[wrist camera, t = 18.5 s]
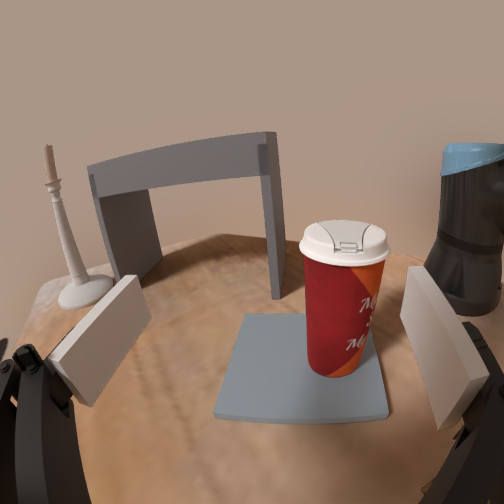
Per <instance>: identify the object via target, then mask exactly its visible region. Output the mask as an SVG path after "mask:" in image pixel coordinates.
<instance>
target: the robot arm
mask: <svg viewBox="0 0 504 504" xmlns="http://www.w3.org/2000/svg"><path fill="white" fill-rule="evenodd" d="M440 175H441V176H442V177H441V199H440V213H439V223H438V232H437V238H436V241H435V243H434V245H433V247H432V249H431V251H430V253H429V255H428V257H427V259H426V261H425V263H424V265H423V266H411V267H408V274H407V280H406V286H405V292H404V298H403V303H402V308H401V313H400V318H401V320H402V323H403V325H404V328H405V330H406V333H407V335H408V338H409V341H410V343H411V346H412V349H413V351H414V354H415V357H416V360H417V363H418V366H419V368H420V371H421V374H422V377H423V381H424V384H425V387H426V390H427V393H428V397H429V400H430V404H431V407H432V411H433V414H434V418H435V422H436V426H437V430H440V429H444V428H448V427H451V426H454V425H456V424H457V422H458V421H459V420H460V419H461V417H462V416H463V419H464V423H465V424H464V425H463V427H462V428H461V429H460V430H459V431H458V433H457V434H456V435H455V436H454V438H453V439H454V440H455V439H456V438H457V439H456V441H455V443H454V445H453V447H452V449H451V451H450V453H449V455H448V457H447V459H446V461H445V462H444V464H443V466H442V468H441V469H440V471H439V473H438V475H437V476H436V478H435V480H434V481H433V483H432V484H431V486H430V488H429V489H428V491H427V492H426V494H425V495H424V497H423V498H422V500H421V501H420V502H419V504H487V503H488V501H489V499H490V497H491V499H490V502H489V504H504V374H503V372H502V370H501V368H500V366H499V364H498V363H497V361H496V359H495V357H494V355H493V353H492V352H491V350H490V348H488V345H487V343H486V341H485V340H483V336H482V335H481V333H480V331H479V330H478V329H477V328H476V327H475V326H474V325H473V324H471V323H470V322H469V321H468V322H462V323H461V321H460V320H459V318H458V316H457V315H456V314H459V315H465V316H480V315H484V314H487V313H489V312H491V311H492V310H493V309H494V308H495V307H496V306H497V303H498V300H499V297H500V294H501V289H502V284H501V275H502V260H501V254H502V249H503V244H504V144H495V143H450V144H448V145H447V146H446V147H445V148H444V150H443V158H442V172H441V173H440ZM151 319H152V316H151V314H150V311H149V308H148V306H147V303H146V300H145V297H144V294H143V291H142V288H141V285H140V282H139V279H138V276H137V275H125V276H124V277H123V278H122V279H121V280H120V281H119V282H118V283H117V284H116V285H115V286H114V287H113V288H112V289H111V290H110V291H109V292H108V293H107V294H106V295H105V296H104V297H103V298H102V299H101V300H100V301H99V302H98V303H97V304H96V305H95V306H94V307H93V308H92V309H91V310H90V312H89V313H88V314H87V315H86V316H85V317H84V318H83V319H82V320H81V321H80V322H79V323H78V324H77V325H76V326H75V327H73V328H72V329H71V330H70V331H69V332H68V334H67V335H66V336H65V337H64V338H63V339H62V341H61V342H59V343H58V345H57V346H56V347H55V348H54V349H53V350H52V351H51V353H50V354H49V355H48V356H47V357H46V358H45V359H44V360H42V359H41V357H40V355H39V354H38V352H37V351H36V349H35V347H34V346H33V345H32V344H26V345H23V346H21V347H20V348H18V349H17V350H16V351H15V353H14V354H13V356H12V358H13V360H14V361H15V362H14V361H13V360H12V359H7V360H5V361H3V362H1V364H0V504H92V503H91V500H90V496H89V493H88V489H87V485H86V481H85V476H84V472H83V467H82V462H81V457H80V451H79V445H78V438H77V431H76V423H75V414H74V404H73V401H72V400H71V399H70V398H71V397H72V395H74V396H75V397H76V399H77V400H78V401H79V403H81V404H84V405H86V406H89V407H91V408H92V406H93V405H94V403H95V402H96V400H97V399H98V397H99V395H100V394H101V392H102V391H103V389H104V388H105V386H106V385H107V383H108V382H109V380H110V379H111V377H112V376H113V374H114V373H115V371H116V370H117V368H118V367H119V365H120V364H121V362H122V361H123V359H124V358H125V356H126V355H127V353H128V352H129V350H130V349H131V347H132V346H133V344H134V343H135V342H136V340H137V339H138V337H139V336H140V334H141V333H142V331H143V330H144V329H145V327H146V326H147V324H148V323H149V321H150V320H151ZM16 364H17V365H16ZM18 367H19V368H18ZM11 396H13V397H14V399H15V400H16V401H17V402H18V403H17V407H16V406H15V405H14V404H13V403H12V402H11V401H10V399H11Z"/></svg>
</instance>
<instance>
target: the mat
mask: <svg viewBox="0 0 504 504" xmlns="http://www.w3.org/2000/svg"><path fill="white" fill-rule="evenodd" d="M213 414H214V416H215V418H219V419H227V420H236V421H246V422H259V423H276V424H333V423H350V422H362V421H372V420H381V419H387V417H388V415H389V410H388V404H387V399H386V394H385V389H384V384H383V379H382V374H381V370H380V365H379V361H378V357H377V352H376V348H375V344H374V340H373V336H372V332H371V329H369V333H368V336H367V340H366V343H365V346H364V349H363V353H362V356H361V359H360V361H359V364H358V366H357V368H356V369H355V370H354V371H353V372H352V373H350V374H349V375H346V376H344V377H339V378H330V377H325V376H322V375H319V374H317V373H316V372H314V371H313V370H312V369H311V367H310V366H309V363H308V357H307V330H306V314H245V315H244V319H243V322H242V325H241V328H240V331H239V334H238V338H237V341H236V344H235V347H234V350H233V353H232V356H231V359H230V362H229V366H228V369H227V372H226V375H225V378H224V381H223V384H222V387H221V390H220V393H219V396H218V399H217V402H216V405H215V409H214V412H213Z"/></svg>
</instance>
